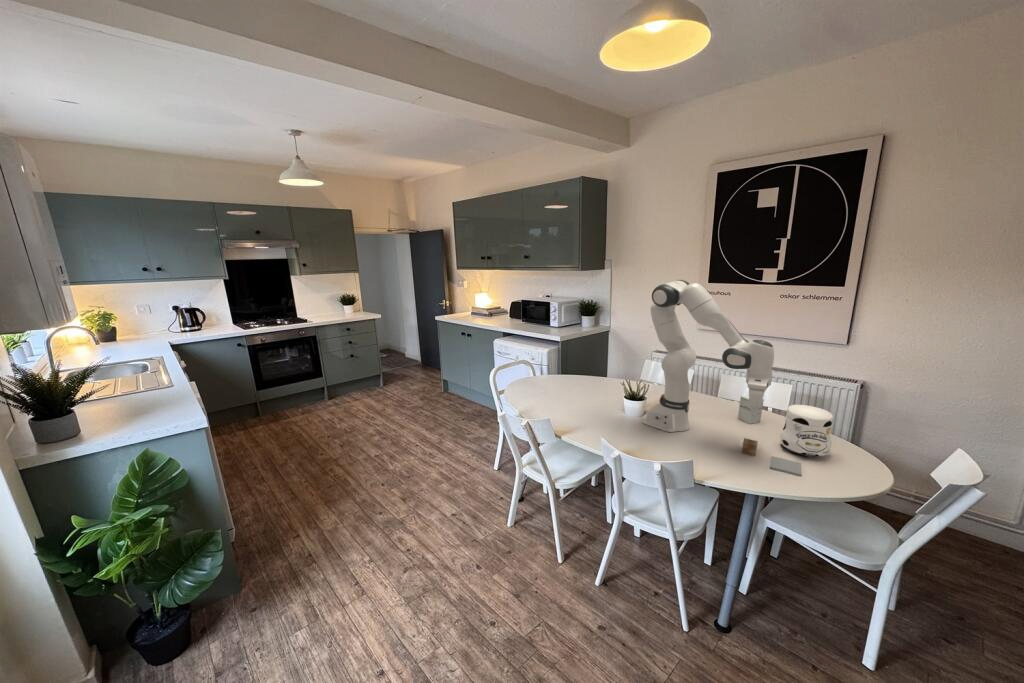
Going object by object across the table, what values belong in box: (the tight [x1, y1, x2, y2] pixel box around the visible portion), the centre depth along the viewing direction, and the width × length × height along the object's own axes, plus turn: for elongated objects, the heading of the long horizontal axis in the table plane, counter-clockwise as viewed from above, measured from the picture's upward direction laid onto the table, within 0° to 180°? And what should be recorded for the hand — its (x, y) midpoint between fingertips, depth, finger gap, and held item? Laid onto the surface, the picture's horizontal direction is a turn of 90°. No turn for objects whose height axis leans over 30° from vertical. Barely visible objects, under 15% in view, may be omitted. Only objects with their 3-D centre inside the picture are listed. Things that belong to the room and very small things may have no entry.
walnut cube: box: [741, 437, 758, 457], centre depth 164 cm, size 5×5×5 cm
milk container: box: [780, 404, 834, 458], centre depth 164 cm, size 17×17×18 cm
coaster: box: [769, 455, 803, 477], centre depth 153 cm, size 10×10×1 cm
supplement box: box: [737, 394, 765, 425], centre depth 194 cm, size 7×7×13 cm
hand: (755, 410), depth 160 cm, fingers open, 8 cm apart
